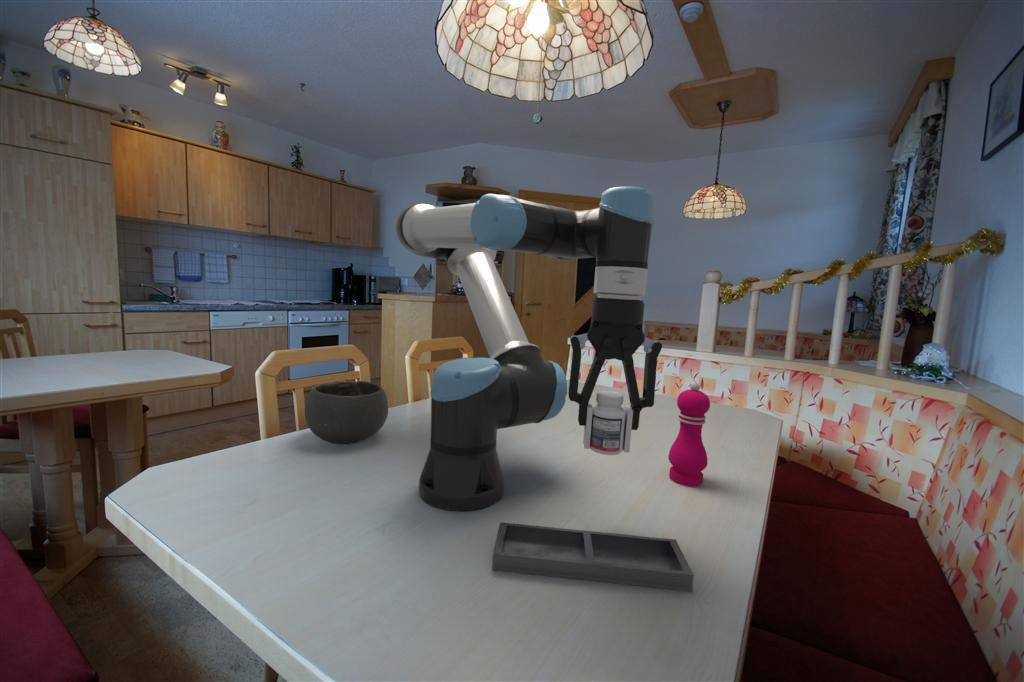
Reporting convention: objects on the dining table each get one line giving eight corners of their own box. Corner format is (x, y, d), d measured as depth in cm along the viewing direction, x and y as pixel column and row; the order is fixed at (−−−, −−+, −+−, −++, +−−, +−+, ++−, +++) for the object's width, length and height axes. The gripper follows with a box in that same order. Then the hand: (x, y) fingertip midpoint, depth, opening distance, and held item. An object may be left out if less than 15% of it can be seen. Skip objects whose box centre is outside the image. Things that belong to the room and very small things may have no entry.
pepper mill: (709, 490, 80) (720, 387, 78) (669, 485, 82) (679, 384, 80) (700, 474, 87) (710, 380, 85) (664, 470, 89) (672, 377, 87)
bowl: (349, 423, 109) (349, 375, 108) (404, 436, 101) (405, 385, 100) (286, 444, 93) (285, 388, 92) (345, 461, 85) (345, 400, 84)
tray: (492, 569, 54) (492, 553, 54) (499, 536, 62) (500, 522, 62) (691, 591, 52) (693, 575, 52) (674, 554, 60) (675, 539, 59)
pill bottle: (598, 440, 69) (603, 387, 68) (628, 449, 66) (633, 394, 65) (582, 448, 65) (586, 392, 64) (613, 458, 62) (618, 400, 61)
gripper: (557, 294, 60) (546, 451, 62) (690, 301, 58) (672, 462, 61) (556, 293, 67) (547, 433, 70) (674, 300, 65) (659, 443, 68)
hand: (605, 446), depth 65 cm, fingers closed on pill bottle, 5 cm apart
